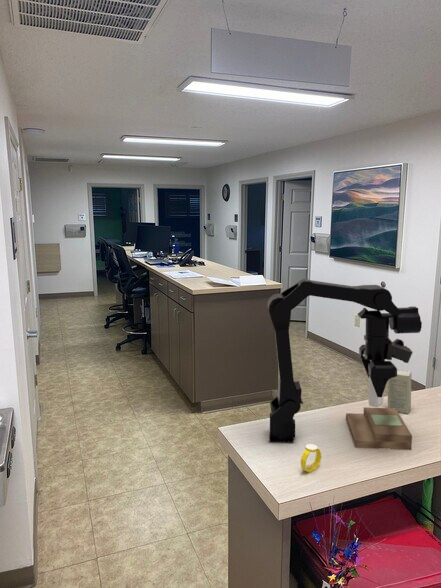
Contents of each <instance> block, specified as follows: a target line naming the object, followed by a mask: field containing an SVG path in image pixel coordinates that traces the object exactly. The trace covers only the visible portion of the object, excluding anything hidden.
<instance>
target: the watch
mask: <svg viewBox="0 0 441 588" xmlns="http://www.w3.org/2000/svg"><path fill="white" fill-rule="evenodd" d="M311 453H316V454H315V459H314V462H313V463H312V464H311V465H310V466H309V467H307V465H306V464H307V460H308V456H309V455H310V454H311ZM321 460H322V452H321V450H320V448H319V447H318V446H317V445H316V444H313V443H309V444H306V445H305V450H304V451H303V452H302V455H301V457H300V466H301V469H302V470H303V471H305V472H307V473H311V472H312V471H314V470H316V469H318V468H319V466H320V463H321Z"/></svg>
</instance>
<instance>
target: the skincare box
mask: <svg viewBox="0 0 441 588" xmlns="http://www.w3.org/2000/svg"><path fill="white" fill-rule="evenodd" d="M387 408H396V410H397V411H398V413H399V414H400V413H402V414H407V415H409V413H410V411H411V409H412V371H408V370H400V369H397V376H396V377H394V378H390V379H389V380H388V381H387Z"/></svg>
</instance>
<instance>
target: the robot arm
mask: <svg viewBox="0 0 441 588" xmlns="http://www.w3.org/2000/svg"><path fill="white" fill-rule="evenodd" d="M309 296H311V297H317V298H324V299H332V300H337V301H338V300H339V301H347V302H352V303H356V304H358V305H361V306H363V308H362V309H361V310H360V311H359V312H358V313H357V314H356V315H357V316H358V317H359V318H360V319H365V335H363V339H364V341H365V344H361V345H360V347H359V348H358V352H359V353H358V355H359V356H360V360H361V362H362V365H363V367H364V370H365V372H366V375H367V377H368V379H369V376H370V379H371V381H372V384H373V387H374V389H375V392H376V394H377V397H382V395H383V396H384V392H385V389H386V386H387V385H388V380H389V379H390V378H394V377H396V376H397V370H398V367H396V365H395V364H394V363H393V362H392V359H395V360H399V361H400V362H401V361H402V362H403V363H404V364H409V362H410V359H411V357H412V355H413V353H414V351H413V350H411V348H410V347H408V346H407V345H405V342H404V340H402V339H399V338H396V339H394V340H393V341H392V340H391V339H390V338H389V337H390V335H389V334H390V333H389V331H390V330H391V331H393V332H394V334H397V335H398V334H419V333H420V332H421V331H422V328H423V327H422V324H423V322H422V320H421V315H420V313H419V307H416V306H408V307H398V306H397V305H396V304H395V303H394V301H393V296H392V294H391V292H390V291H389V290H388V289H386V288H385V287H383V286H380V285H378V284H362V285H346V284H340V283H333V282H326V281H319V280H311V279H309V278H302V279H300V280H298V282H296V283H295V284H293V285H292V286H290V287H288V288H286V289H284V291H282V292H280V293H275V294H273V295H271V296H270V297H269V299H268V301H267V308H268V312H269V316H270V319H271V323H272V327H273V329H274V334H275V335H274V337H275V347H276V357H277V367H278V374H279V376H278V377H279V379H278V384H277V385H278V386H277V395H276V396H275V397H274V398H273V399H272V400H271V401H270V402H269V407H270V413H269V438H268V440H269V442H270V443H271V442H272V443H290V444H291V443H294V442H295V441H294V439H295V438H296V419H295V418H294V416H295V415H296V414H298V412H300V410H301V408H302V407H301V406H302V405H303V404H304V402H303V399H302V387H301V383H300V381H299V380H298V381H295V380H294V371H293V369H294V368H293V361H292V352H291V341H290V340H291V339H290V324H291V315H292V310H293V309H295V308H296V307H298V306H299V305H300V304H301V303H302V302H303V301H304V300H305V299H306V298H308V297H309ZM367 308H368V309H369V308H370V309H371V310H368V309H367ZM381 311H385V312H381ZM386 312H387V313H386ZM301 404H302V405H301Z"/></svg>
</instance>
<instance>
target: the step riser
mask: <svg viewBox="0 0 441 588" xmlns="http://www.w3.org/2000/svg"><path fill="white" fill-rule="evenodd" d="M345 421H346V424H347V428H348V431H349V433H350V436H351V440H352V443H353V445H354V448H359V449H360V448H361V449H379V448H386V450H388V449H387V448H390V449H389V450H403V451H405V450H407V451H411V450H412V443H413V441H412V440H413V435H412V433H411V432H410V430H409V428H408V425H406V423H405V421H404V420H403V418H402V416H401V415H400V412H398V411H397V410H396V408H388V407H365V406H364V407H363V413H353V412H352V413H351V412H349V413H347V412H346V413H345Z"/></svg>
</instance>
